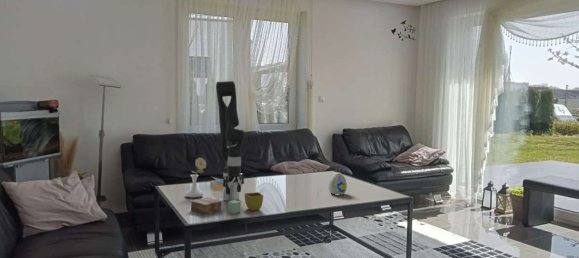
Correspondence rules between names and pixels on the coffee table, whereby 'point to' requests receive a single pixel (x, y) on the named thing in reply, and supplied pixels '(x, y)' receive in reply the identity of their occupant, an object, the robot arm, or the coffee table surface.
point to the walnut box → (205, 206)
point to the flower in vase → (194, 190)
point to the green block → (234, 206)
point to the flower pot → (253, 200)
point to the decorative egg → (337, 184)
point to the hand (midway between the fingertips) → (233, 193)
